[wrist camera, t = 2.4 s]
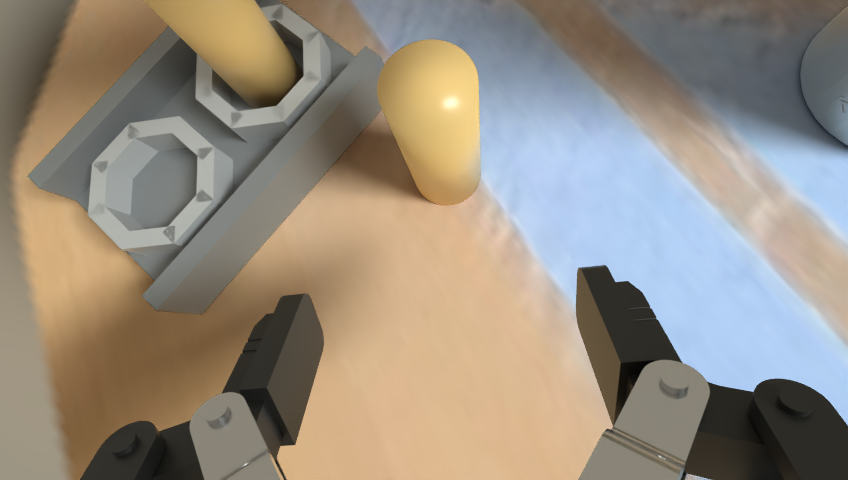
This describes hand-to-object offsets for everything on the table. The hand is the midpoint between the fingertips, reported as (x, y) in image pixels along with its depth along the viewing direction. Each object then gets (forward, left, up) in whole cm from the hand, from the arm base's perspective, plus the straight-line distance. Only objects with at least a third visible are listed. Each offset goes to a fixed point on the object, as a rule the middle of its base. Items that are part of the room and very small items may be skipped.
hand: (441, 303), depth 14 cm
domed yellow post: (-6, -6, -12) cm, 15 cm away
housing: (+1, -18, -12) cm, 22 cm away
